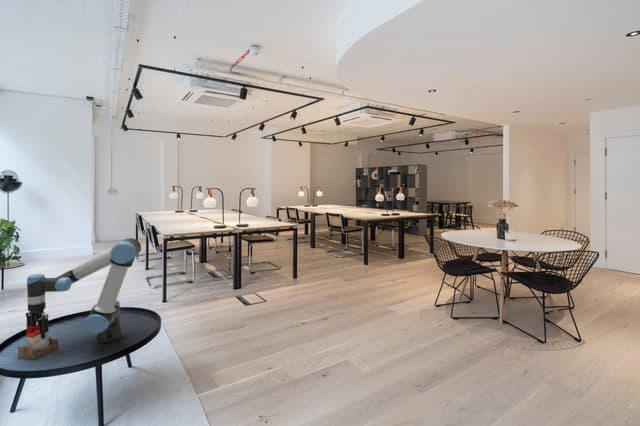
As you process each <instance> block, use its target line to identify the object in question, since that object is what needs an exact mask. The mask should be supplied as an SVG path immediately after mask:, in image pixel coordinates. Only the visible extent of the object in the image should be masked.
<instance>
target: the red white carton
mask: <svg viewBox="0 0 640 426" xmlns="http://www.w3.org/2000/svg"><path fill="white" fill-rule="evenodd" d="M34 327H36V329H33V328H34ZM32 329H33V330H32ZM38 333H40V331H39V327H38V324H36V326H33V327H29V328H27V327H26V347H31V348H35V353H36V352H38V351H40V350H42V349H45V348H47V347H49V337H50V334H49V328H48V332H45V343H44V344H42V345H39V334H38Z"/></svg>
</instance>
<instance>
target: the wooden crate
mask: <svg viewBox="0 0 640 426" xmlns="http://www.w3.org/2000/svg"><path fill="white" fill-rule="evenodd" d="M58 349H59V338H58V337H52V336H49V347H47V348H45V349H42V350H40V351H38V352H36V353H35V348H31V347H27V345H26V346H25V345H18V346H17V350H18V351H17V352H18V353H17V354H18V358H19V359H25V360H30V359H31V361H34V359H35V360H37V359H38V358H41V357H43V356H45V355H47V354H49V353H52V352H54V351H56V350H58Z"/></svg>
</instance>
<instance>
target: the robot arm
mask: <svg viewBox="0 0 640 426" xmlns="http://www.w3.org/2000/svg"><path fill="white" fill-rule="evenodd" d="M141 251H142V245H141V243H140V241H139V240H138V239H136V238H132V237H131V238H125V239H124V240H121V241H119V242H116V243H115V244H114V245H113V246H112V248H111V249H110V250H109V251H107V252H105V253H103V254H100V255H98V256H97V257H94V258H93V259H91V260H89V261H87V262H84V263H81V265H78V266H76V267H74V268H73V269H70V270H66V272H64V273H62V274H60V275H58V276H56V277H46V276H45V274H43V273H34V274H30V275H29V276H27V278H26V290H27V299H26V300H27V311H28V312H26V313H25V317H26V329H27V328H30V327H33V326H36V325H38V327H39V331H40V333H38V334H39V345H42V344H44V343H45V332H48V329H49V316H50V315H49V314H48V313H45V309H46V308H47V307H46V303H47V302H46V293H49V292H51V293H52V292H54V293H55V292H59V293H60V292H61V293H62V292H68V291H69V290H70V289H71V287H72V285H73V284H74V283H76V282H79V281H80V280H82V279H84V278H86V277H88V276H90V275H92V274H95V273H96V272H98V271H101V270H102V269H105V268H107V267H109V266H110V268H109V270H108V272H107V276H106V279H105V281H104V285H103V287H102V290H101V292H100V295H99V298H98V300H97V302H96V303H95V304H94V305H93V306H92V308H91V310H90V313H89V315H88V316H87V317H86V319H85V321H84V328H85V330H86V331H88V332H89V333H91V334H95V335H94V342H95V343H96V344H97V343H99V344H108V343H112V342H115V341H118V340H120V338H121V339H123V337H124V335H125V332H124V329H123V327H122V325H121V303H120V301H119V300H117V298H118V296H119V293H120V292H121V291H120V290H121V288H122V285H123V284H124V281H125V277H126V275H127V271H128V269H129V268H131V267H132V266H133V263H134V261H135V259H136V257H137V256H138V255H139V254H140V252H141ZM36 328H37V327H34V328H33V329H36ZM33 329H32V330H33Z"/></svg>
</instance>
